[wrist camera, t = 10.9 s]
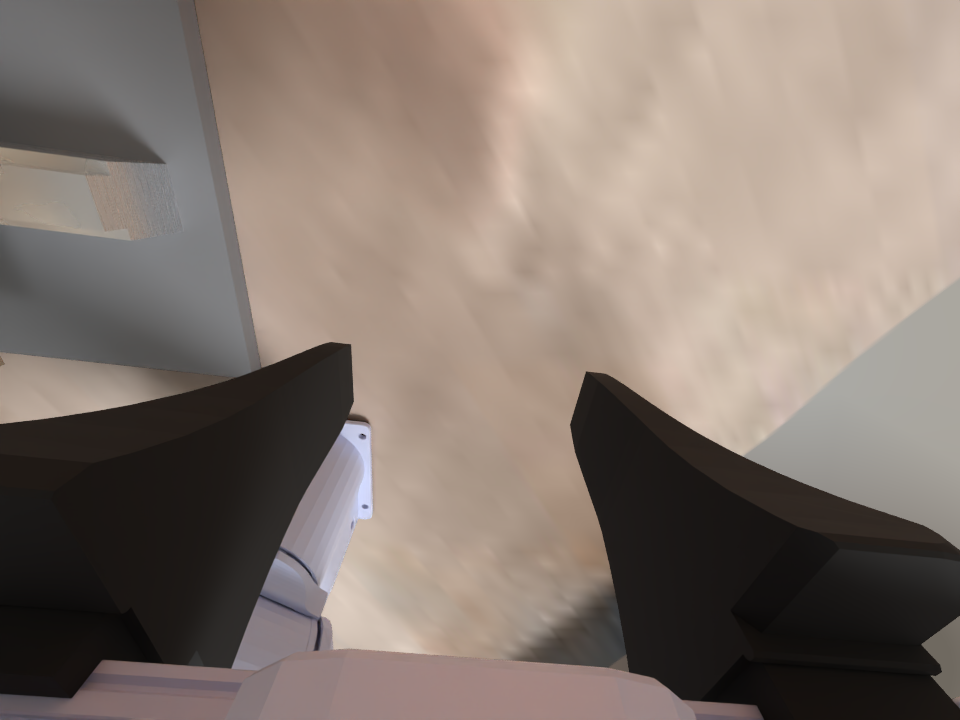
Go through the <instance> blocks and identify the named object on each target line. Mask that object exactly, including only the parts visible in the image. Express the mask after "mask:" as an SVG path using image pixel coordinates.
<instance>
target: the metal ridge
mask: <svg viewBox="0 0 960 720" xmlns="http://www.w3.org/2000/svg"><path fill="white" fill-rule="evenodd" d="M0 224H2V225H10V226H18V227H26V228H34V229H42V230H50V231H58V232H66V233H74V234H82V235H90V236H98V237H105V238H113V239H121V240H129V241H132V240H138V239H143V238H149V237H155V236H160V235H166V234H172V233H178V232H183V227H182V223H181V219H180V215H179V210H178V206H177V202H176V198H175V194H174V190H173V186H172V182H171V178H170V174H169V170H168V166H167V164H162V163H154V162H147V161H140V160H132V159H125V158H118V157H110V156H103V155H96V154H88V153H81V152H74V151H66V150H59V149H52V148H44V147H37V146H30V145H22V144H15V143H8V142H0Z"/></svg>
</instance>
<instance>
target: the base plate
mask: <svg viewBox="0 0 960 720" xmlns="http://www.w3.org/2000/svg"><path fill="white" fill-rule="evenodd" d="M0 142H8V143H15V144H22V145H30V146H37V147H44V148H52V149H59V150H66V151H74V152H81V153H88V154H96V155H103V156H110V157H118V158H125V159H132V160H140V161H147V162H154V163H162V164H167V166H168V170H169V174H170V178H171V182H172V186H173V190H174V194H175V198H176V202H177V206H178V210H179V215H180V219H181V223H182V227H183V232H178V233H172V234H166V235H160V236H155V237H149V238H143V239H138V240H132V241H129V240H121V239H113V238H105V237H98V236H90V235H82V234H74V233H66V232H58V231H50V230H42V229H34V228H26V227H18V226H10V225H2V224H0V352H5V353H14V354H23V355H32V356H42V357H51V358H60V359H69V360H78V361H88V362H97V363H106V364H115V365H124V366H134V367H143V368H152V369H161V370H170V371H179V372H189V373H198V374H207V375H216V376H225V377H235V378H237V377H240V376H242V375H245V374H248V373H250V372H253V371H256V370H259V369H261V365H260V359H259V354H258V348H257V343H256V337H255V332H254V326H253V321H252V316H251V310H250V305H249V299H248V294H247V288H246V283H245V277H244V272H243V266H242V261H241V256H240V250H239V245H238V239H237V234H236V228H235V223H234V217H233V212H232V207H231V201H230V196H229V190H228V185H227V179H226V174H225V168H224V163H223V158H222V152H221V147H220V141H219V136H218V130H217V125H216V119H215V114H214V108H213V103H212V98H211V92H210V87H209V81H208V76H207V70H206V65H205V59H204V54H203V49H202V43H201V38H200V32H199V27H198V21H197V16H196V10H195V5H194V0H0Z"/></svg>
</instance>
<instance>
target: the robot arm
mask: <svg viewBox="0 0 960 720" xmlns="http://www.w3.org/2000/svg"><path fill="white" fill-rule="evenodd" d="M353 402H354V397H353V376H352V355H351V344H342V343H333V342H329V343H325V344H322V345H319V346H317V347H314V348H311V349H309V350H306V351H304V352H302V353H299V354H297V355H294V356H292V357H289V358H287V359H284V360H282V361H280V362H277V363H275V364H272V365H269V366H267V367H264V368H261V369H259V370H256V371H253V372H250V373H248V374H245V375H242V376H240V377H237V378H234V379H231V380H228V381H225V382H221V383H218V384H215V385H211V386H208V387H204V388H201V389H197V390H194V391H190V392H186V393H182V394H178V395H173V396H169V397H164V398H160V399H155V400H151V401H146V402H142V403H138V404H133V405H128V406H123V407H117V408H111V409H106V410H100V411H94V412H88V413H82V414H75V415H69V416H62V417H55V418H48V419H41V420H32V421H23V422H14V423H6V424H0V720H960V697H957V698H953V699H951V698H950V697H949V696H948V695H947V694H946V693H945V692H944V690H943V689H942V688H941V687H940V686H939V685H938V684H937V683H936V682H935V680H934V679H933V678H932V677H931V676H930V675H933V676H936V675H938V674H939V673H941V672H942V671H941V667H940V664H939V663H938V662H937V661H936V660H935V659H934V658H933V657H932V656H931V655H930V654H929V653H928V652H927V651H926V650H925V649H924V647H923V646H922V645H921V644H922V643H923V642H925V641H926V640H927V639H929V638H930V637H932V636H933V635H934V634H936V633H937V632H938V631H940V630H941V629H942V628H944V627H945V626H946V625H948V624H949V623H950V622H952V621H953V620H954V619H956V618H957V617H958V616H960V550H959V549H957V548H956V547H955V546H953V545H952V544H951V543H950V542H948V541H947V540H946V539H944V538H943V537H942V536H941V535H939V534H938V533H936V532H934V531H932V530H931V529H929V528H927V527H925V526H923V525H920V524H917V523H914V522H911V521H908V520H905V519H902V518H899V517H896V516H893V515H890V514H887V513H884V512H881V511H878V510H875V509H872V508H868V507H866V506H863V505H860V504H857V503H854V502H851V501H848V500H846V499H843V498H840V497H837V496H835V495H832V494H829V493H827V492H824V491H822V490H819V489H817V488H814V487H811V486H809V485H806V484H803V483H801V482H799V481H796V480H794V479H791V478H789V477H787V476H784V475H782V474H780V473H777V472H775V471H773V470H770V469H768V468H766V467H764V466H762V465H759V464H757V463H755V462H753V461H751V460H748V459H746V458H744V457H742V456H740V455H738V454H736V453H734V452H732V451H730V450H728V449H726V448H724V447H723V446H721V445H719V444H717V443H715V442H713V441H711V440H709V439H708V438H706V437H704V436H702V435H700V434H699V433H697V432H695V431H693V430H692V429H690V428H689V427H687V426H685V425H684V424H682V423H680V422H679V421H677V420H676V419H674V418H672V417H671V416H669V415H668V414H666V413H665V412H663V411H662V410H660V409H659V408H657V407H656V406H654V405H653V404H651V403H650V402H648V401H647V400H645V399H644V398H643V397H641V396H640V395H638V394H637V393H635V392H634V391H632V390H631V389H629V388H628V387H627V386H625V385H624V384H622V383H621V382H619V381H618V380H616V379H614V378H613V377H611V376H609V375H607V374H603V373H594V372H586V374H585V377H584V380H583V384H582V387H581V390H580V394H579V397H578V400H577V404H576V407H575V410H574V414H573V417H572V420H571V424H570V427H571V433H572V438H573V444H574V449H575V453H576V456H577V459H578V462H579V465H580V468H581V471H582V474H583V477H584V480H585V483H586V485H587V488H588V491H589V494H590V497H591V500H592V503H593V506H594V508H595V511H596V514H597V517H598V520H599V524H600V527H601V530H602V534H603V539H604V543H605V547H606V551H607V556H608V560H609V564H610V569H611V574H612V579H613V584H614V589H615V593H616V598H617V603H618V609H619V614H620V620H621V625H622V631H623V637H624V642H625V648H626V654H627V660H628V667H629V672H624V671H620V670H615V669H611V668H604V667H590V666H577V665H563V664H549V663H536V662H522V661H509V660H495V659H481V658H468V657H454V656H440V655H427V654H413V653H400V652H386V651H372V650H359V649H339V650H333V639H332V634H333V633H332V625H331V623H330V621H329V620H328V619H327V618H326V617H322V616H321V613H322V611H323V608H324V605H325V603H326V600H327V597H328V596H329V594H330V592H331V590H332V588H333V585H334V583H335V580H336V577H337V574H338V572H339V569H340V566H341V564H342V561H343V558H344V555H345V553H346V550H347V547H348V545H349V542H350V539H351V536H352V534H353V531H354V528H355V526H356V523H357V520H358V519H370V518H371V517H372V514H373V496H372V451H371V427H370V425H369V424H368V423H366V422H360V421H350V420H347V417H348V415H349V412H350V410H351V407H352V405H353ZM361 434H365V435H366V436H363V435H361Z"/></svg>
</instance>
